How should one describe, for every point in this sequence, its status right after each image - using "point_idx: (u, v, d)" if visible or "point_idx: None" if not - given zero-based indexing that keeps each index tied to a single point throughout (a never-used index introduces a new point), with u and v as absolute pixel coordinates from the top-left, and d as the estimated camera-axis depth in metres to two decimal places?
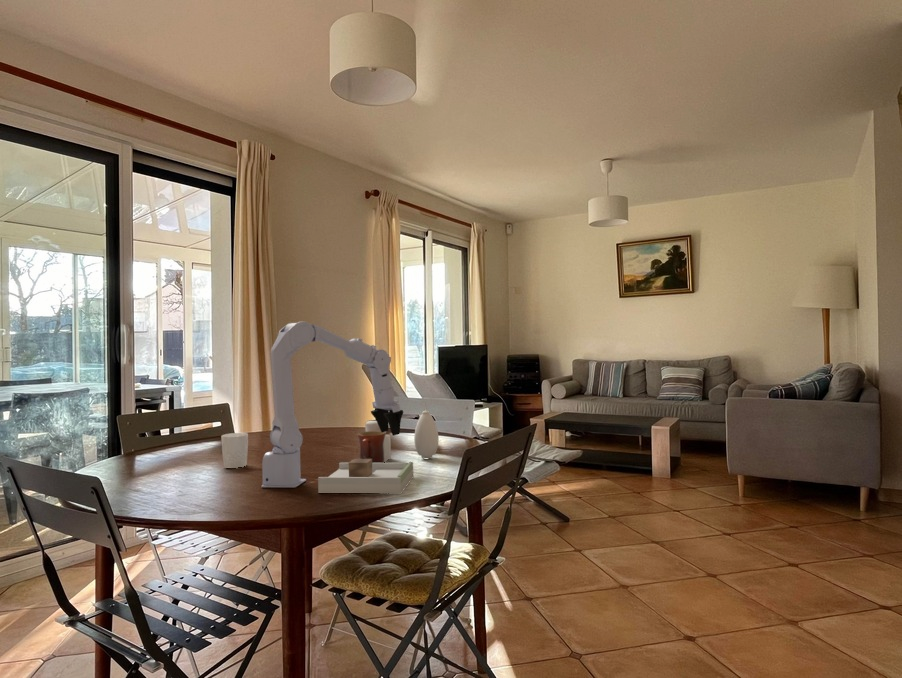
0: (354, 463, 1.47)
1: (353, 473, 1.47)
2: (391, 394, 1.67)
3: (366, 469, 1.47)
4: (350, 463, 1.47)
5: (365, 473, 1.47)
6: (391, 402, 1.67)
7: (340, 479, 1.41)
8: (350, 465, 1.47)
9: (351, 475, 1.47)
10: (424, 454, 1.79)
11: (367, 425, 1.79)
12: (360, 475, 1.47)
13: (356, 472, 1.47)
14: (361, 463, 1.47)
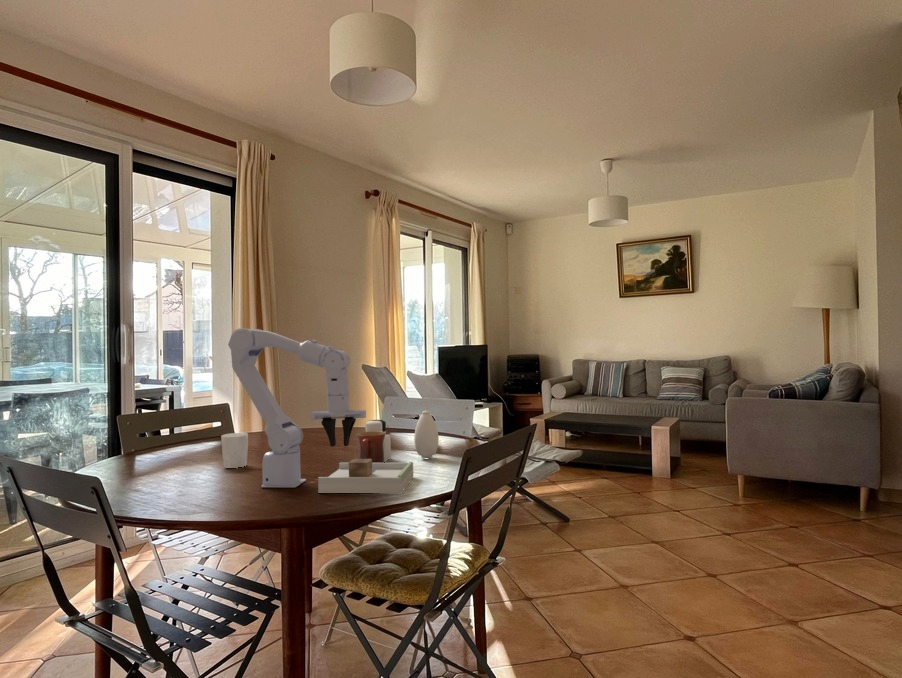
0: (354, 463, 1.47)
1: (353, 473, 1.47)
2: (327, 402, 1.49)
3: (366, 469, 1.47)
4: (350, 463, 1.47)
5: (365, 473, 1.47)
6: None
7: (340, 479, 1.41)
8: (350, 465, 1.47)
9: (351, 475, 1.47)
10: (424, 454, 1.79)
11: (367, 425, 1.79)
12: (360, 475, 1.47)
13: (356, 472, 1.47)
14: (361, 463, 1.47)
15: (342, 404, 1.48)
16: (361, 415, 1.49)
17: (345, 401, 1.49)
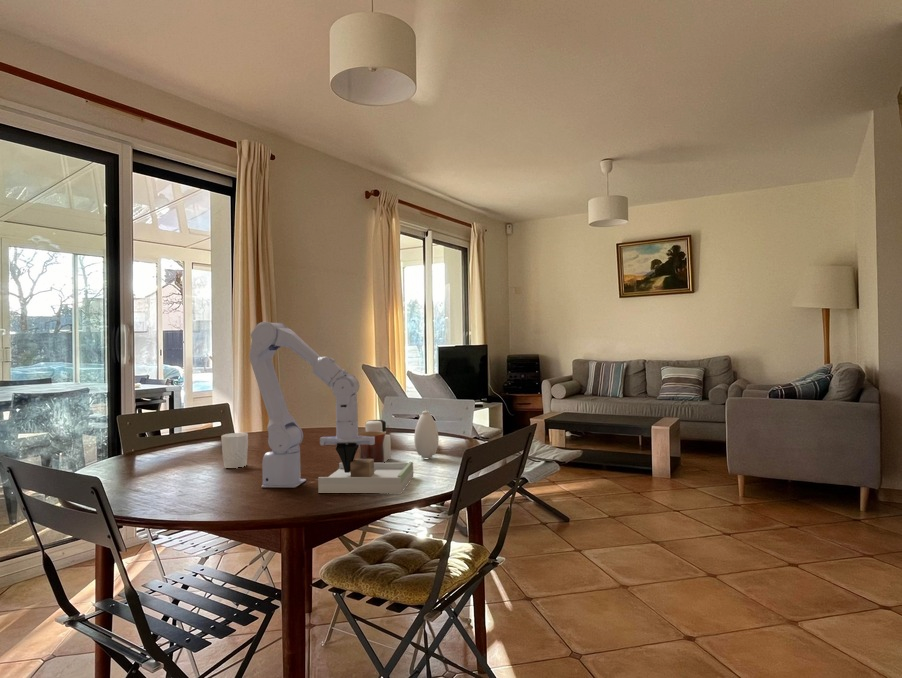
0: (356, 463, 1.47)
1: (355, 473, 1.47)
2: (336, 428, 1.49)
3: (368, 469, 1.47)
4: (352, 463, 1.47)
5: (367, 473, 1.47)
6: (336, 436, 1.50)
7: (340, 479, 1.41)
8: (351, 465, 1.47)
9: (353, 475, 1.47)
10: (424, 454, 1.79)
11: (367, 425, 1.79)
12: (362, 475, 1.47)
13: (358, 472, 1.47)
14: (363, 463, 1.47)
15: (351, 430, 1.48)
16: (370, 442, 1.48)
17: (354, 427, 1.48)
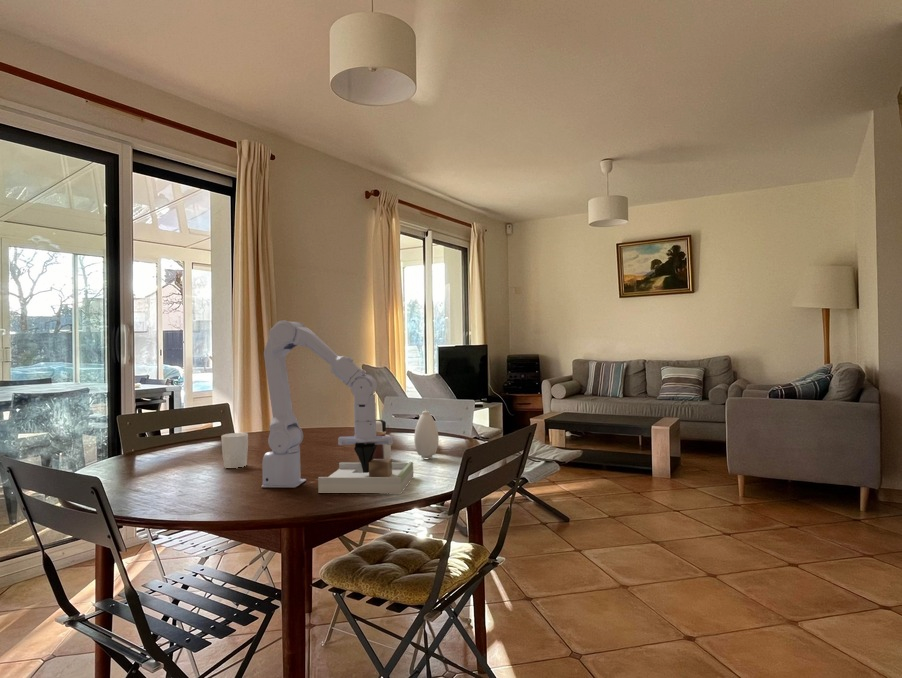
0: (374, 463, 1.47)
1: (373, 473, 1.47)
2: (354, 428, 1.48)
3: (386, 469, 1.46)
4: (370, 463, 1.47)
5: (385, 473, 1.46)
6: (354, 436, 1.49)
7: (340, 479, 1.41)
8: (370, 466, 1.47)
9: (371, 475, 1.47)
10: (424, 454, 1.79)
11: None
12: (380, 475, 1.46)
13: (376, 472, 1.47)
14: (381, 463, 1.46)
15: (370, 430, 1.47)
16: (388, 442, 1.48)
17: (373, 427, 1.48)
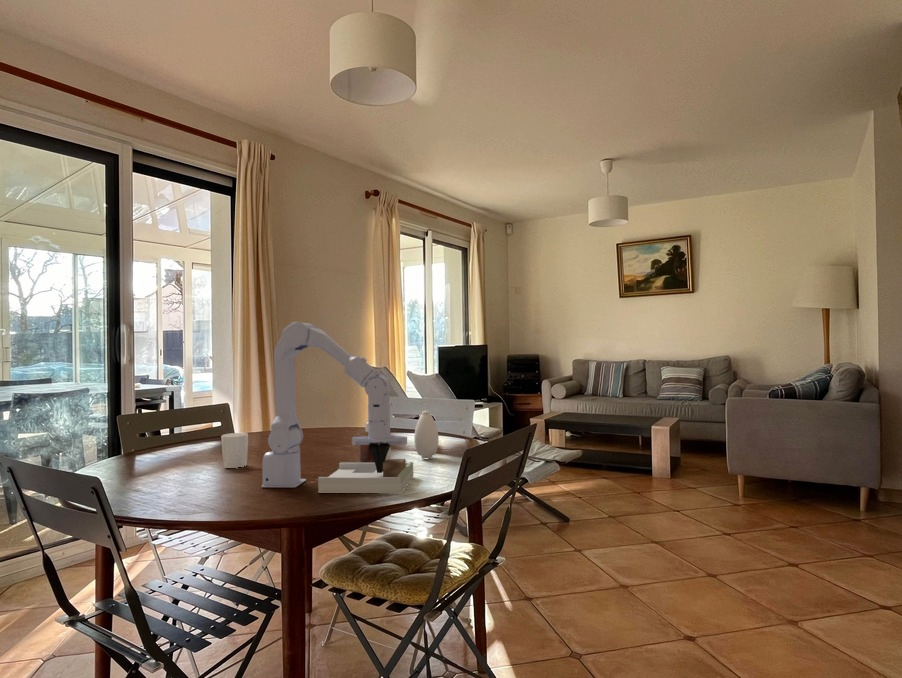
0: (388, 463, 1.46)
1: (387, 473, 1.46)
2: (368, 428, 1.48)
3: (401, 469, 1.46)
4: (384, 463, 1.46)
5: None
6: (368, 436, 1.49)
7: (340, 479, 1.41)
8: (384, 466, 1.46)
9: (385, 475, 1.46)
10: (424, 454, 1.79)
11: (367, 425, 1.79)
12: (394, 475, 1.46)
13: (390, 472, 1.46)
14: (395, 463, 1.46)
15: (384, 430, 1.47)
16: (403, 442, 1.47)
17: (387, 427, 1.48)
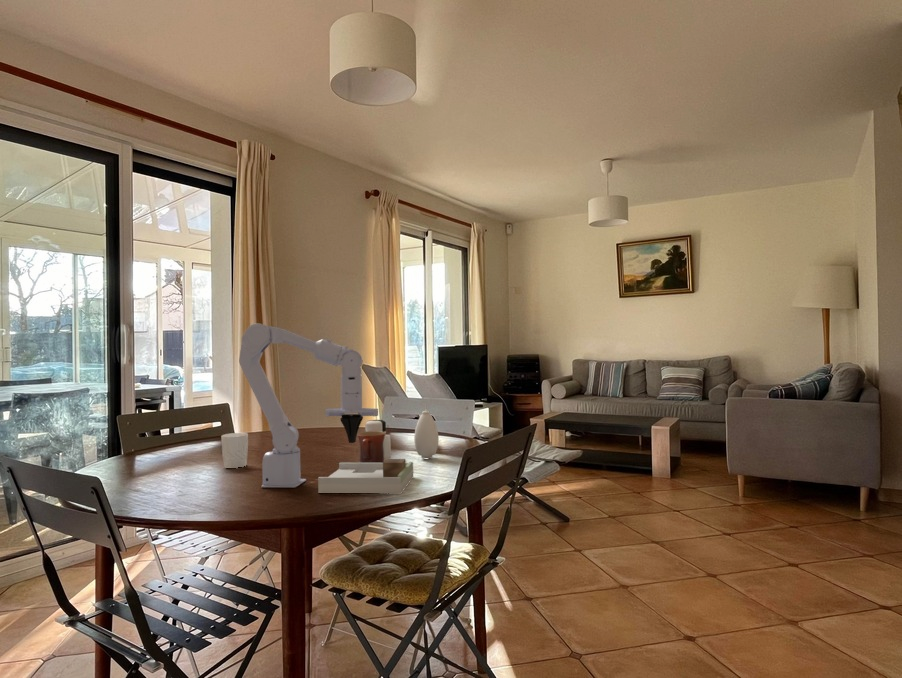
0: (388, 463, 1.46)
1: (387, 473, 1.46)
2: (341, 400, 1.55)
3: (400, 469, 1.46)
4: (384, 463, 1.46)
5: None
6: (341, 408, 1.55)
7: (340, 479, 1.41)
8: (384, 466, 1.46)
9: (385, 475, 1.46)
10: (424, 454, 1.79)
11: (367, 425, 1.79)
12: (394, 475, 1.46)
13: (390, 472, 1.46)
14: (395, 463, 1.46)
15: (356, 402, 1.53)
16: (374, 413, 1.54)
17: (359, 399, 1.54)
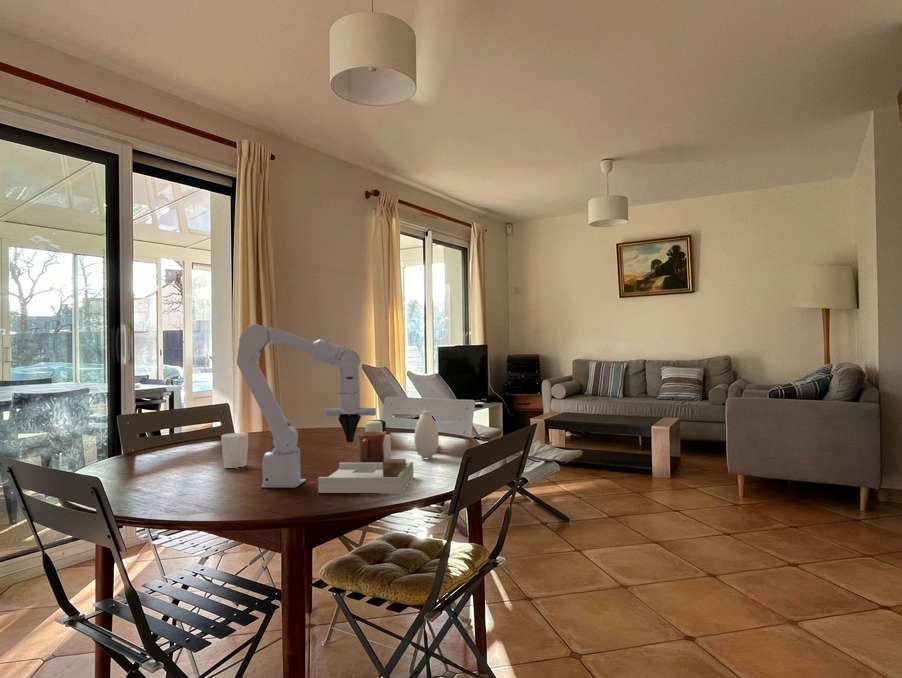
0: (388, 463, 1.46)
1: (387, 473, 1.46)
2: (339, 400, 1.55)
3: (400, 469, 1.46)
4: (384, 463, 1.46)
5: None
6: (339, 408, 1.56)
7: (340, 479, 1.41)
8: (384, 466, 1.46)
9: (385, 475, 1.46)
10: (424, 454, 1.79)
11: (367, 425, 1.79)
12: (394, 475, 1.46)
13: (390, 472, 1.46)
14: (395, 463, 1.46)
15: (353, 401, 1.54)
16: (371, 413, 1.55)
17: (356, 399, 1.55)
